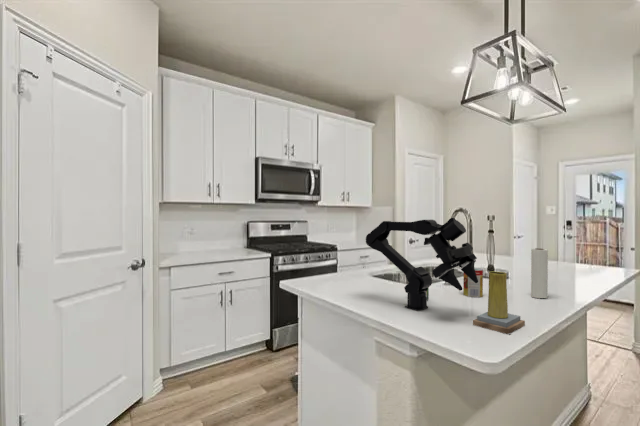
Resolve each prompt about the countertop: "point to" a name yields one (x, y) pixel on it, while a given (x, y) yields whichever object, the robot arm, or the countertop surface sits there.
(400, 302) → the countertop surface
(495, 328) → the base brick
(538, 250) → the grey cylinder
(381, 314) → the countertop surface
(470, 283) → the canned food
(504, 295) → the vase
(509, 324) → the top brick
